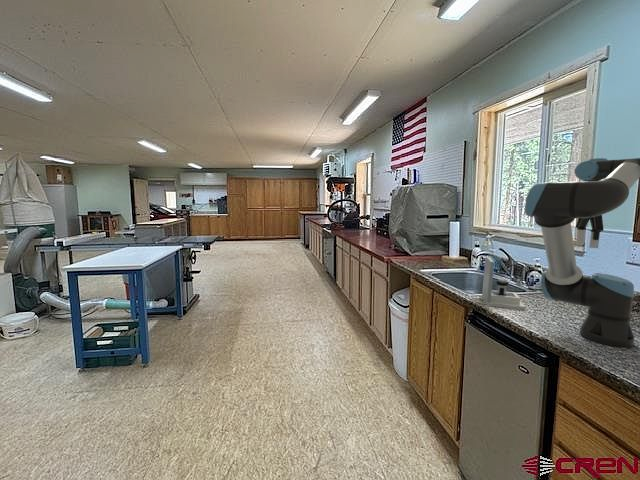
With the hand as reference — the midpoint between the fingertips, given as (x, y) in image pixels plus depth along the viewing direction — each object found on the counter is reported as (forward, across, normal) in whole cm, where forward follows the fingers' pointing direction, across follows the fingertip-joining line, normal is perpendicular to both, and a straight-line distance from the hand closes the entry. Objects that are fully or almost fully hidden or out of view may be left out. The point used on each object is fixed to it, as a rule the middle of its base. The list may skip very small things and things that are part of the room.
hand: (586, 246), depth 141 cm
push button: (+30, +11, +28) cm, 43 cm away
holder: (+32, +11, +28) cm, 44 cm away
